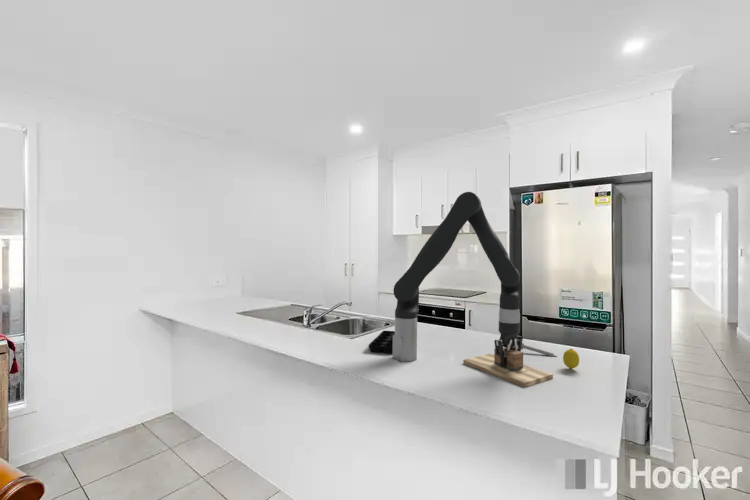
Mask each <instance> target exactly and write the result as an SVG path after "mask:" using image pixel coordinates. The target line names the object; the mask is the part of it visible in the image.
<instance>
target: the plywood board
mask: <svg viewBox="0 0 750 500" xmlns="http://www.w3.org/2000/svg"><path fill="white" fill-rule="evenodd" d="M462 362H463V365H467V366H469V367H472V368H474V369H477V370H480V371H482V372H484V373H487V374H490V375H491V376H492V375H493V376H495V377H498V378H500V379H502V380H505V381H508V382H511V383H513V384H515V385H518V386H521V387H524V388H526V387H531V386H533V385H536V384H540V383H542V382H545V381H549V380H553V378H554V375H553V373H550V372H547V371H545V370H543V369H538V368H535V367H533V366H529V365H526V364H524V363H523V369H519V370H516V371H513V370H510V369H507V368H504V367H501V366H498V365H496V364H494V354H492V353H488V354H483V355H479V356H474V357H470V358H466V359H463V361H462Z"/></svg>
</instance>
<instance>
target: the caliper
mask: <svg viewBox="0 0 750 500" xmlns="http://www.w3.org/2000/svg"><path fill="white" fill-rule="evenodd" d="M517 346H518V345H517ZM523 349H525V350H528V351H532V352H534V353H535V352H536V353H539V354H542V355H545V356H549V357H556V358H557V357H558V356H557V354H555V353H554V352H552V351H548V350H544V349H541V348H537V347H534V346H531V345H527V344H525V343H524V342H522V347H521V351H522V350H523Z"/></svg>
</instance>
